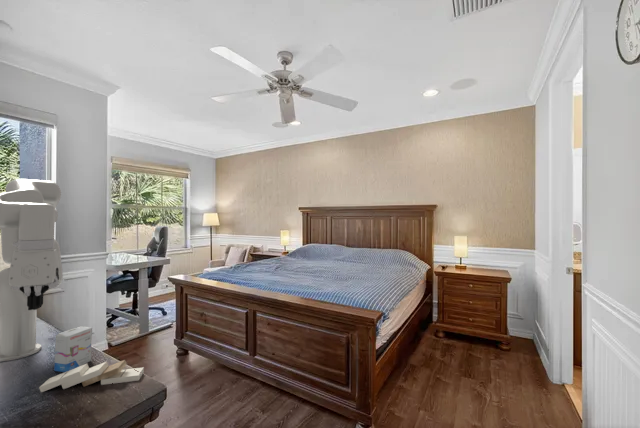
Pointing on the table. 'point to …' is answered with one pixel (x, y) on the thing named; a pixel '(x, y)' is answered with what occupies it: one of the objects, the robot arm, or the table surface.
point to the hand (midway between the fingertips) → (35, 308)
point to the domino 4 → (124, 376)
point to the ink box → (72, 348)
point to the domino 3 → (107, 372)
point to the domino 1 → (64, 377)
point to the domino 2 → (87, 375)
